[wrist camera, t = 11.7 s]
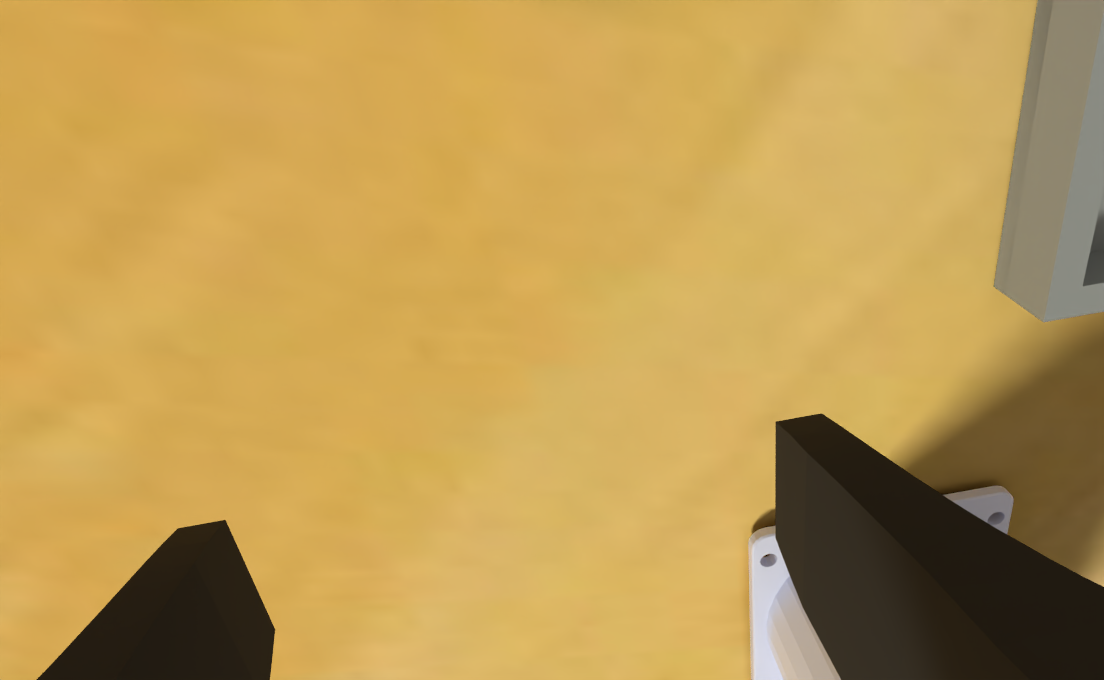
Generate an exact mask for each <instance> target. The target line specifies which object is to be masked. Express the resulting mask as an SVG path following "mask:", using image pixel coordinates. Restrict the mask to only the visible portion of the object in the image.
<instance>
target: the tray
mask: <svg viewBox="0 0 1104 680" xmlns="http://www.w3.org/2000/svg"><path fill="white" fill-rule="evenodd" d="M994 287H995V288H996V289H998V290H999V291H1000V292H1002V293H1003V294H1005V295H1006V296H1007V297H1009V298H1010V299H1012V300H1013V301H1014V302H1016V303H1017V304H1019V305H1020V306H1021V307H1023V308H1024V309H1026V310H1027V311H1028V312H1030V313H1031V314H1033V315H1034V316H1035V317H1037V318H1038V319H1040V320H1041V321H1042V322H1048V321H1053V320H1059V319H1065V318H1070V317H1076V316H1082V315H1087V314H1093V313H1099V312H1104V0H1038V2H1037V9H1036V15H1035V22H1034V28H1033V35H1032V41H1031V48H1030V54H1029V61H1028V67H1027V74H1026V80H1025V87H1024V93H1023V100H1022V106H1021V113H1020V119H1019V126H1018V132H1017V139H1016V145H1015V152H1014V158H1013V165H1012V171H1011V178H1010V184H1009V191H1008V197H1007V203H1006V210H1005V216H1004V223H1003V229H1002V236H1001V242H1000V249H999V255H998V262H997V268H996V275H995V281H994Z"/></svg>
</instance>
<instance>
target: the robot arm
mask: <svg viewBox="0 0 1104 680" xmlns="http://www.w3.org/2000/svg"><path fill="white" fill-rule="evenodd" d="M1013 503H1014V500H1013V496H1012V495H1011V494H1010V493H1009V492H1008V491H1007V490H1006V489H1005V487H1002V486H990V487H984V488H979V489H973V490H968V491H962V492H957V493H951V494H946V495H942V494H940V493H939V492H937V491H936V490H934V489H932V488H931V487H929V486H928V485H926V484H925V483H923V482H922V481H920V480H919V479H917V478H916V477H914V476H913V475H911V474H910V473H908V472H907V471H905V470H904V469H902V468H901V467H899V466H898V465H896V464H895V463H893V462H892V461H891V460H889V459H888V458H886V457H885V456H883V455H882V454H880V453H879V452H877V451H876V450H874V449H873V448H872V447H870V446H869V445H867V444H866V443H864V442H863V441H861V440H860V439H859V438H857V437H856V436H854V435H853V434H851V433H850V432H848V431H847V430H845V429H844V428H843V427H841V426H840V425H838V424H837V423H835V422H834V421H832V420H831V419H829V418H828V417H826V416H825V415H823V414H816V415H811V416H805V417H799V418H794V419H788V420H783V421H777V422H776V523H775V526H770V527H765V528H761V529H758V530H757V531H756V532H754V533H753V534H752V535H751V537H750V538H749V542H748V549H749V599H750V649H751V680H1104V587H1103V586H1101V585H1099V584H1096V583H1094V582H1092V581H1090V580H1088V579H1086V578H1084V577H1082V576H1081V575H1079V574H1077V573H1075V572H1073V571H1071V570H1069V569H1067V568H1066V567H1064V566H1062V565H1060V564H1058V563H1056V562H1054V561H1052V560H1051V559H1049V558H1047V557H1045V556H1044V555H1042V554H1040V553H1038V552H1037V551H1035V550H1033V549H1031V548H1030V547H1028V546H1026V545H1024V544H1023V543H1021V542H1019V541H1017V540H1016V539H1014V538H1012V537H1010V536H1009V535H1007V533H1008V528H1009V523H1010V518H1011V513H1012V508H1013ZM767 554H770V555H769V556H766V557H763V556H765V555H767ZM274 634H275V628H274V626H273V624H272V622H271V620H270V617H269V615H268V613H267V611H266V609H265V606H264V604H263V602H262V600H261V598H260V595H259V593H258V591H257V589H256V587H255V584H254V582H253V580H252V578H251V576H250V573H249V571H248V569H247V567H246V564H245V562H244V560H243V558H242V556H241V553H240V551H239V549H238V547H237V545H236V542H235V540H234V538H233V536H232V534H231V531H230V529H229V527H228V525H227V523H226V520H223V521H217V522H211V523H206V524H200V525H195V526H189V527H183V528H178V529H177V530H176V531H175V532H174V533H173V534H172V535H171V536H170V537H169V538H168V539H167V540H166V541H165V542H164V543H163V544H162V545H161V546H160V547H159V548H158V549H157V550H156V551H155V552H154V554H153V555H152V556H151V557H150V558H149V559H148V560H147V561H146V562H145V563H144V564H143V565H142V567H141V568H140V569H139V570H138V571H137V572H136V573H135V574H134V575H133V576H132V577H131V579H130V580H129V581H128V582H127V583H126V584H125V585H124V586H123V587H122V588H121V590H120V591H119V592H118V593H117V594H116V595H115V596H114V597H113V598H112V599H111V601H110V602H109V603H108V604H107V605H106V606H105V607H104V608H103V609H102V610H101V612H100V613H99V614H98V615H97V616H96V617H95V618H94V619H93V620H92V621H91V622H90V623H89V624H88V626H87V627H86V628H85V629H84V630H83V631H82V632H81V633H80V634H79V635H78V636H77V637H76V639H75V640H74V641H73V642H72V643H71V644H70V645H69V646H68V647H67V648H66V649H65V650H64V651H63V653H62V654H61V655H60V656H59V657H58V658H57V659H56V660H55V661H54V662H53V663H52V664H51V665H50V666H49V668H48V669H47V670H46V671H45V672H44V673H43V674H42V675H41V676H40V677H39V678H38V679H37V680H270V673H271V664H272V654H273V644H274Z"/></svg>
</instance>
